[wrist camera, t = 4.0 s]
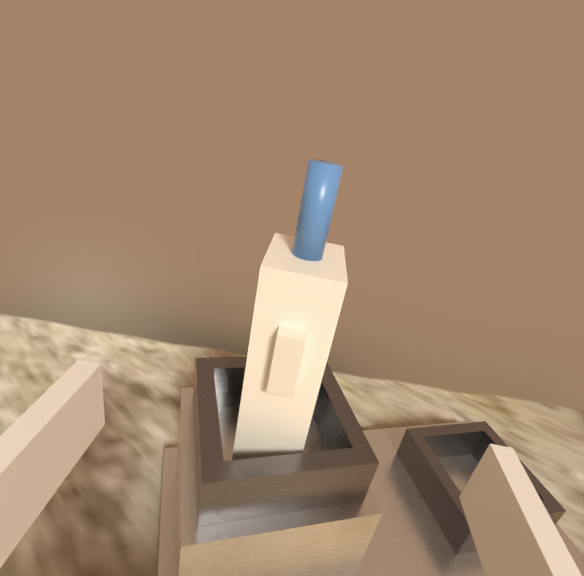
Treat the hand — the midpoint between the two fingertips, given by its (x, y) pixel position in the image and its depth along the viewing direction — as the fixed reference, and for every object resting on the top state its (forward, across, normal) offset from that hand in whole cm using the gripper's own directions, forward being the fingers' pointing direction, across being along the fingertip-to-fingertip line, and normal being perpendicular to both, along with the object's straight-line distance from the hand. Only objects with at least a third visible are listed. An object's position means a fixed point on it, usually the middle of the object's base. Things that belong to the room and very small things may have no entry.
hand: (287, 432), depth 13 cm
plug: (+6, 0, -8) cm, 10 cm away
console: (+10, +8, -17) cm, 21 cm away
